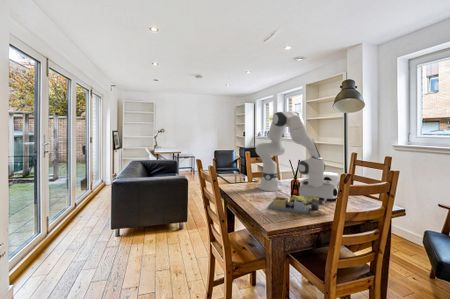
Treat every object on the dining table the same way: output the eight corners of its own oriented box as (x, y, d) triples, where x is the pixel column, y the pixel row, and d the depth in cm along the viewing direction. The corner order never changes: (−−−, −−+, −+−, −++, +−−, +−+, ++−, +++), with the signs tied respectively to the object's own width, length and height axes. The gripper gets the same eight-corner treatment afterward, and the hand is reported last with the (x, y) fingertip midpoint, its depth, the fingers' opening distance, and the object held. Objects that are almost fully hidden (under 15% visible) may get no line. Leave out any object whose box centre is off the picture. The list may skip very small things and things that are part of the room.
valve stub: (311, 207, 156) (312, 195, 155) (318, 208, 154) (319, 196, 153) (310, 209, 152) (311, 197, 151) (318, 210, 150) (318, 198, 149)
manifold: (272, 203, 164) (272, 195, 164) (309, 208, 154) (310, 199, 154) (268, 208, 153) (268, 199, 153) (307, 214, 143) (308, 205, 143)
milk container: (312, 199, 175) (313, 174, 173) (315, 193, 190) (316, 170, 189) (338, 202, 167) (340, 176, 165) (340, 196, 182) (341, 172, 181)
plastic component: (304, 203, 157) (291, 194, 163) (299, 211, 161) (288, 202, 167) (319, 195, 170) (307, 187, 176) (315, 203, 173) (303, 195, 180)
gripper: (334, 182, 150) (333, 204, 151) (300, 179, 158) (299, 200, 159) (334, 184, 144) (333, 207, 145) (298, 181, 153) (298, 203, 154)
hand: (315, 203), depth 152 cm, fingers open, 8 cm apart
